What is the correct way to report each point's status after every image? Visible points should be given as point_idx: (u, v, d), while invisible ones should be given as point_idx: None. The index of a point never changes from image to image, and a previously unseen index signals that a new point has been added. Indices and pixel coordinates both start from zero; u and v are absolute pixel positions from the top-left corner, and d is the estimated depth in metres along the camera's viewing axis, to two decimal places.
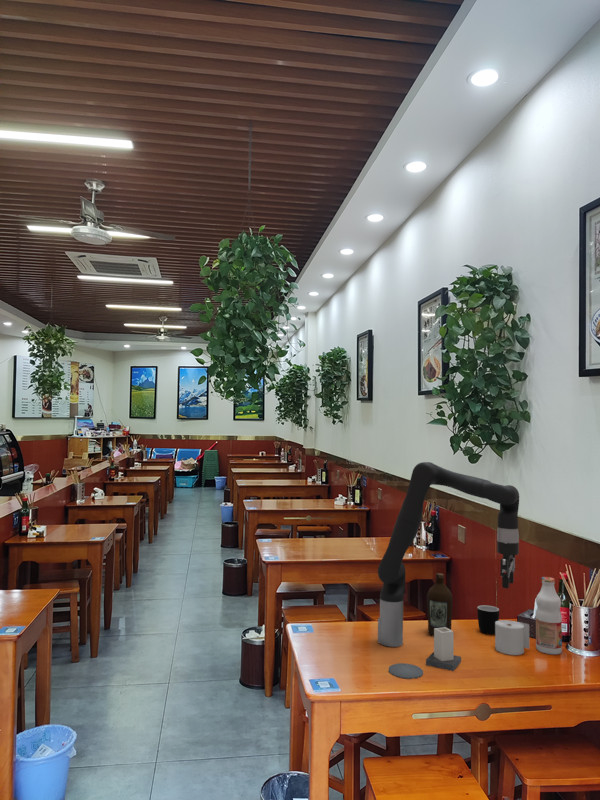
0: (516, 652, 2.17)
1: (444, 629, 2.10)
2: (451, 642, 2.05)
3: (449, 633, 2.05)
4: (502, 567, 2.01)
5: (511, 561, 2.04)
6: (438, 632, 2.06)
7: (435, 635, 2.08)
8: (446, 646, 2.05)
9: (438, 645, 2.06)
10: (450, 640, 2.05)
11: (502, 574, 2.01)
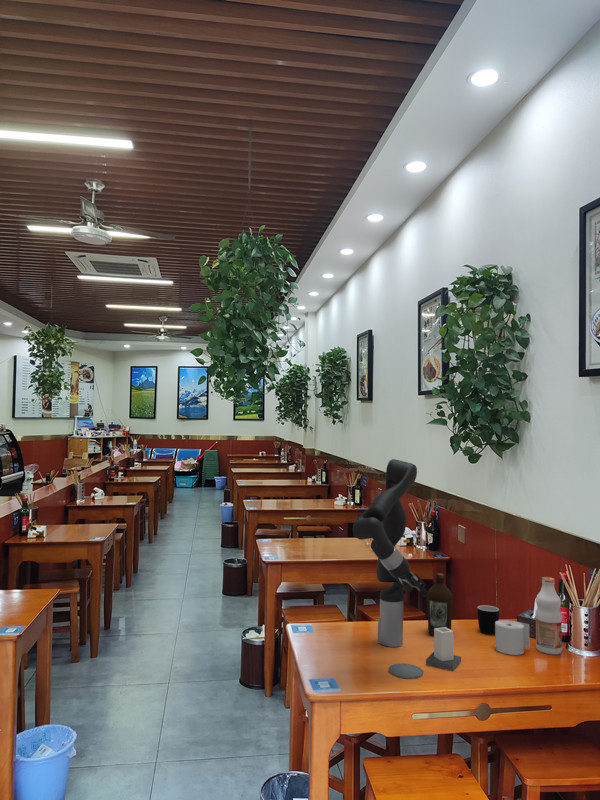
0: (516, 652, 2.17)
1: (444, 629, 2.10)
2: (451, 642, 2.05)
3: (449, 633, 2.05)
4: None
5: None
6: (438, 632, 2.06)
7: (435, 635, 2.08)
8: (446, 646, 2.05)
9: (438, 645, 2.06)
10: (450, 640, 2.05)
11: None
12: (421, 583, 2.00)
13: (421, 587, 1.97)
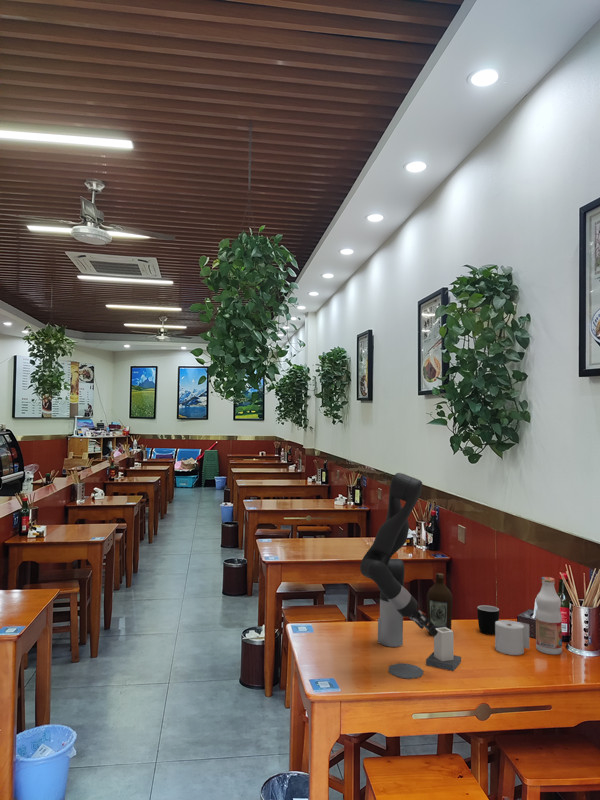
0: (516, 652, 2.17)
1: (444, 629, 2.10)
2: (451, 642, 2.05)
3: (449, 633, 2.05)
4: None
5: None
6: (438, 632, 2.06)
7: None
8: (446, 646, 2.05)
9: (438, 645, 2.06)
10: (450, 640, 2.05)
11: None
12: (430, 622, 2.00)
13: (429, 627, 1.98)
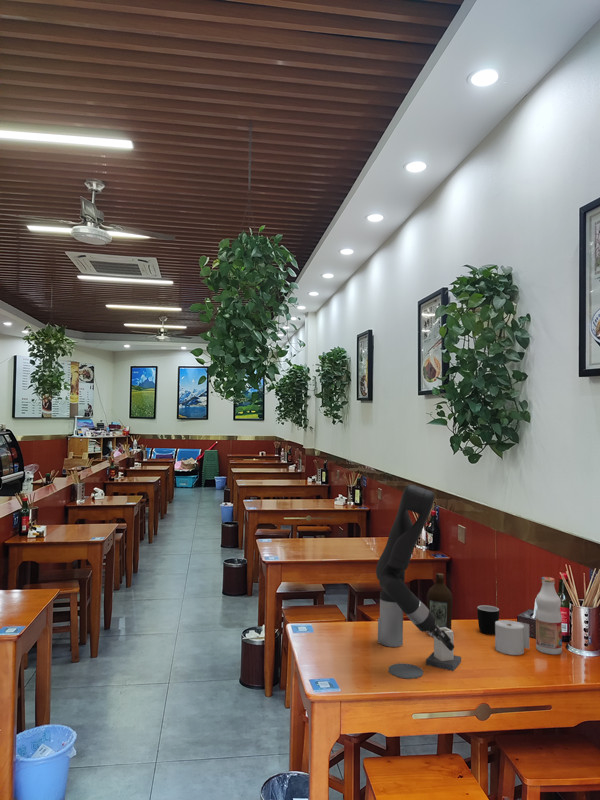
0: (516, 652, 2.17)
1: (444, 629, 2.10)
2: (451, 642, 2.05)
3: (449, 633, 2.05)
4: None
5: None
6: None
7: None
8: None
9: (438, 645, 2.06)
10: None
11: None
12: None
13: (446, 642, 2.01)
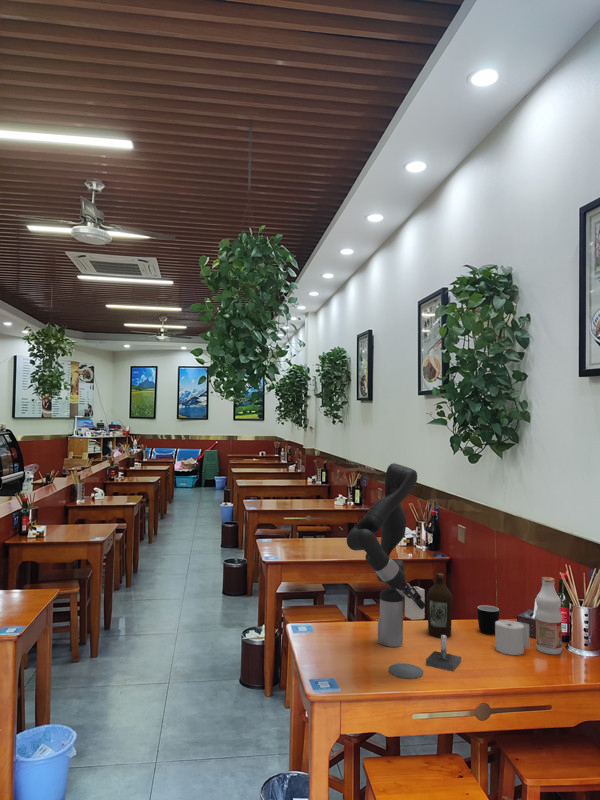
0: (516, 652, 2.17)
1: (415, 588, 2.04)
2: (422, 600, 2.00)
3: (420, 591, 2.00)
4: None
5: None
6: None
7: None
8: None
9: (409, 604, 2.00)
10: (421, 598, 2.00)
11: None
12: None
13: (416, 599, 1.96)
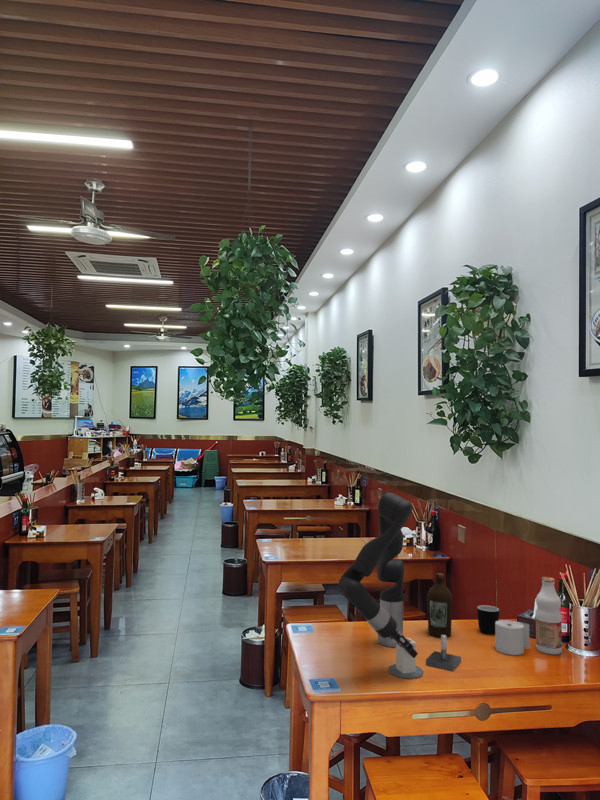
0: (516, 652, 2.17)
1: None
2: None
3: (411, 644, 1.97)
4: None
5: None
6: None
7: (397, 646, 2.00)
8: (408, 658, 1.96)
9: (400, 657, 1.98)
10: None
11: None
12: None
13: (408, 649, 1.92)
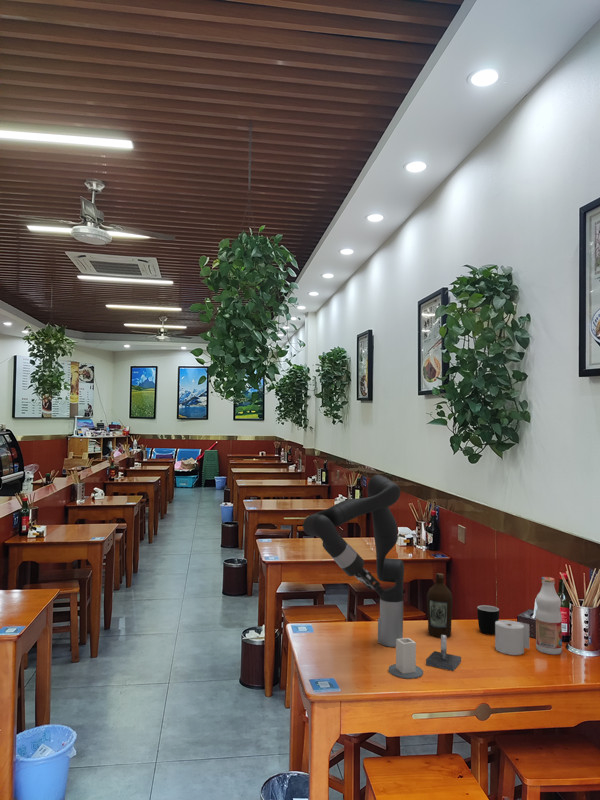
0: (516, 652, 2.17)
1: (407, 640, 2.01)
2: (413, 653, 1.97)
3: (411, 644, 1.97)
4: None
5: None
6: (400, 643, 1.98)
7: (397, 646, 2.00)
8: (408, 658, 1.96)
9: (400, 657, 1.98)
10: (412, 651, 1.97)
11: None
12: None
13: (375, 586, 1.89)
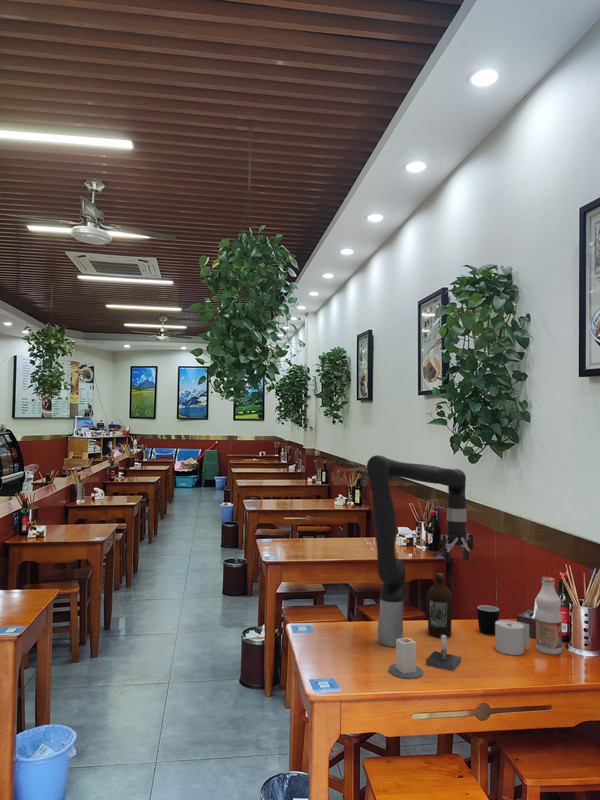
0: (516, 652, 2.17)
1: (407, 640, 2.01)
2: (413, 653, 1.97)
3: (411, 644, 1.97)
4: (440, 541, 2.23)
5: (454, 538, 2.22)
6: (400, 643, 1.98)
7: (397, 646, 2.00)
8: (408, 658, 1.96)
9: (400, 657, 1.98)
10: (412, 651, 1.97)
11: (440, 548, 2.22)
12: None
13: None
